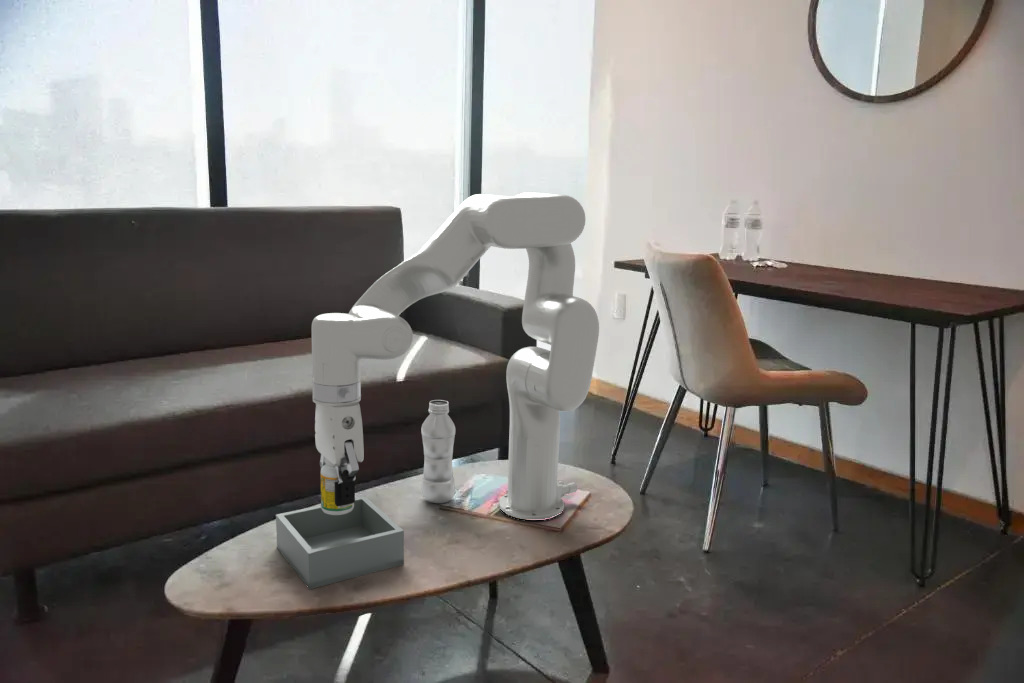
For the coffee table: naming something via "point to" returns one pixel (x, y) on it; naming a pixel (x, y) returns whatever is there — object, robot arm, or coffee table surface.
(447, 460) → the plastic bottle
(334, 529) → the tote
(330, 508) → the supplement bottle
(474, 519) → the coffee table surface
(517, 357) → the robot arm
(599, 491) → the coffee table surface
